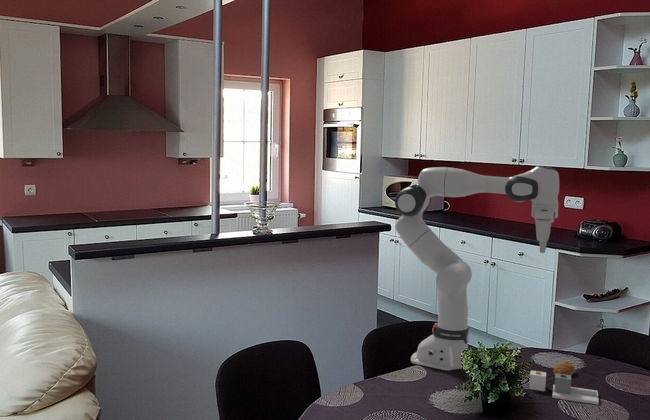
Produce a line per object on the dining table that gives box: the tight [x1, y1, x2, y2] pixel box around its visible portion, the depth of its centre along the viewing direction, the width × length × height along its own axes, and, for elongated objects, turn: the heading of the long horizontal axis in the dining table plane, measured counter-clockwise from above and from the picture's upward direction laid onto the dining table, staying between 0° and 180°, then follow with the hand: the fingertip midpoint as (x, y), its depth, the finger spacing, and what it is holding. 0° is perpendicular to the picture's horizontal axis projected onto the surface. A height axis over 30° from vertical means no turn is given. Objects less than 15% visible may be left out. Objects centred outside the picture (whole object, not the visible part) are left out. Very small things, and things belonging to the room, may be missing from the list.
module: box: [529, 370, 547, 392], centre depth 212 cm, size 5×4×6 cm
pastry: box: [553, 361, 576, 376], centre depth 227 cm, size 9×7×4 cm
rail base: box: [551, 373, 600, 406], centre depth 206 cm, size 14×10×7 cm
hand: (543, 250), depth 220 cm, fingers open, 8 cm apart
